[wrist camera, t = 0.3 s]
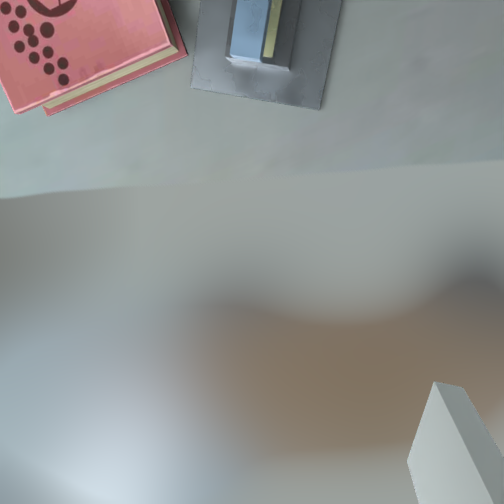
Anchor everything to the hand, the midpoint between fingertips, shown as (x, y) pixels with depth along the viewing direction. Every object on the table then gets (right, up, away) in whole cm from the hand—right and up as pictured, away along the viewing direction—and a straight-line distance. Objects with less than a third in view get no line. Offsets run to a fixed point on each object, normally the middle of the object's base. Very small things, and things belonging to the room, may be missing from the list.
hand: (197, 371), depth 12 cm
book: (-13, +25, +24) cm, 37 cm away
